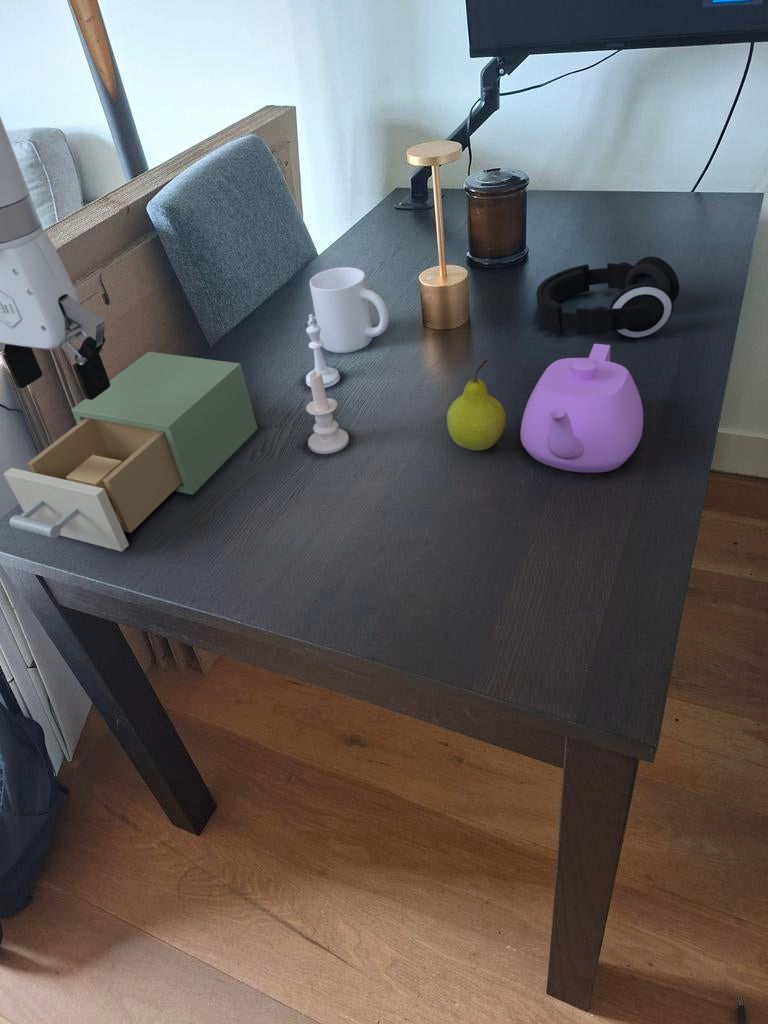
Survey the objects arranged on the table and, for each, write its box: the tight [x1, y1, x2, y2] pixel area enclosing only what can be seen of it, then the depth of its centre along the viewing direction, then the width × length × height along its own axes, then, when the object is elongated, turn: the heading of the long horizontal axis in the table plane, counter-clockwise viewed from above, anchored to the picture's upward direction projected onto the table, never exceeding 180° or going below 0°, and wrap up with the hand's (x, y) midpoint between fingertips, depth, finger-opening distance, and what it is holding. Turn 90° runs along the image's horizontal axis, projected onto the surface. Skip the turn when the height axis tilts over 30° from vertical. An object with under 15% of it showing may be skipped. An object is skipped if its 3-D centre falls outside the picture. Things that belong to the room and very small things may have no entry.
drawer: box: [3, 418, 183, 552], centre depth 86 cm, size 18×14×8 cm
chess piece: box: [305, 314, 341, 389], centre depth 106 cm, size 5×5×10 cm
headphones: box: [535, 255, 680, 339], centre depth 112 cm, size 18×8×20 cm
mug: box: [309, 266, 390, 354], centre depth 114 cm, size 12×8×10 cm
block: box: [66, 455, 123, 510], centre depth 87 cm, size 4×4×4 cm
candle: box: [305, 369, 350, 455], centre depth 93 cm, size 5×5×10 cm
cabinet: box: [71, 351, 259, 496], centre depth 96 cm, size 15×15×10 cm
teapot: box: [519, 343, 644, 473], centre depth 86 cm, size 13×20×11 cm
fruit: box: [446, 359, 507, 452], centre depth 88 cm, size 7×7×12 cm
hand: (64, 387), depth 80 cm, fingers open, 9 cm apart
